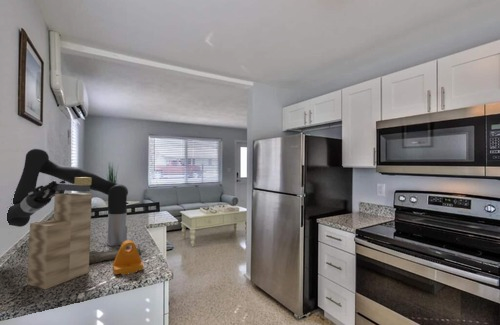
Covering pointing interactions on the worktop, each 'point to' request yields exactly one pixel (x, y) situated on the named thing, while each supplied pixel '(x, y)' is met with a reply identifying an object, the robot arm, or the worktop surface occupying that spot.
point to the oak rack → (61, 242)
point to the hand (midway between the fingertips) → (59, 182)
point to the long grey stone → (104, 255)
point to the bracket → (127, 259)
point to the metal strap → (76, 185)
